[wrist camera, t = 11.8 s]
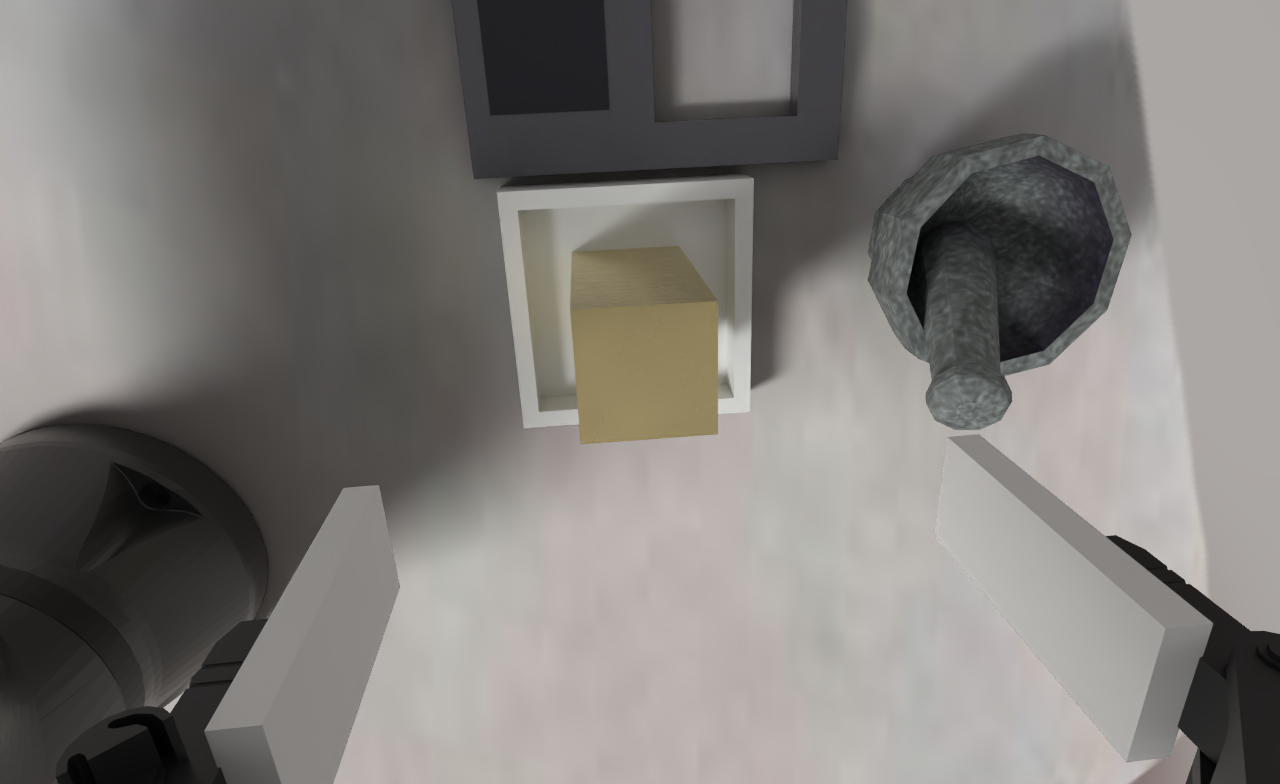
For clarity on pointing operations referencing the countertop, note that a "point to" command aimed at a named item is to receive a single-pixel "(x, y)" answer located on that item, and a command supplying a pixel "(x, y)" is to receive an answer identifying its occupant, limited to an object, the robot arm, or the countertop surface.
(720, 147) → the dark grey flat slab
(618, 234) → the white tray
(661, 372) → the brass block
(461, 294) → the countertop surface
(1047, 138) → the mortar and pestle
